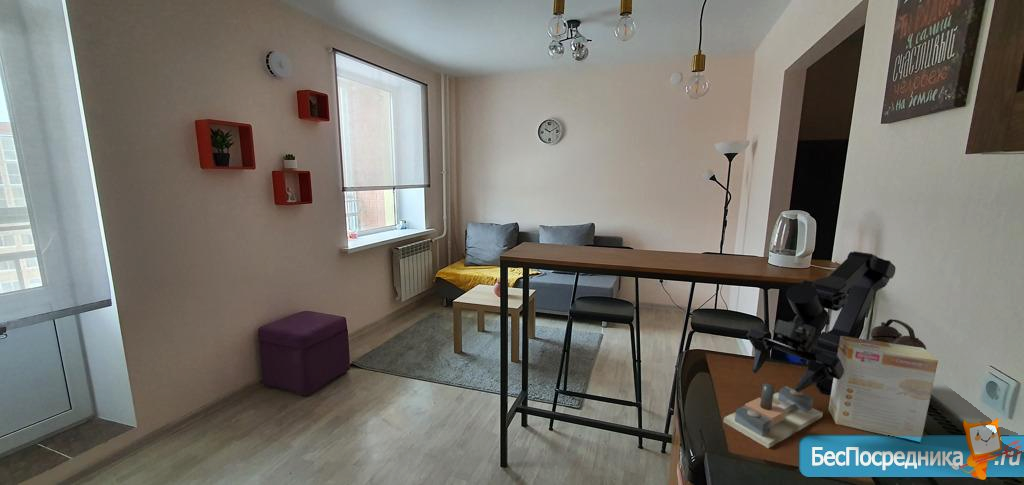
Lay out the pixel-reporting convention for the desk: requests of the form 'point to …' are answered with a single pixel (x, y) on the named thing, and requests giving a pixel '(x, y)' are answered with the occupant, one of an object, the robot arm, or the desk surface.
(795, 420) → the rail track
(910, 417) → the coffeecake box
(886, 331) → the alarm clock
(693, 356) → the desk surface
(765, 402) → the carriage
